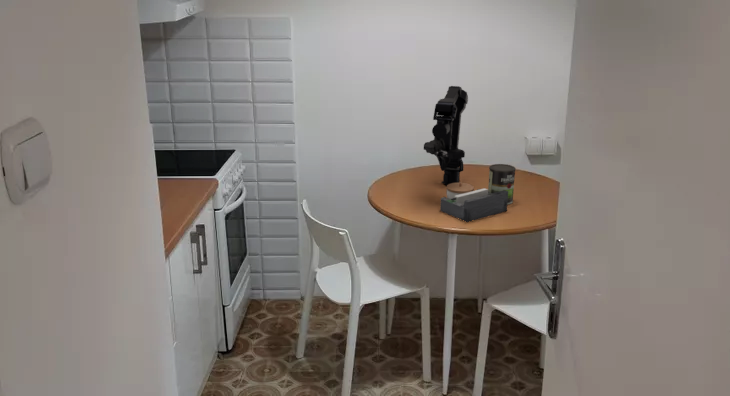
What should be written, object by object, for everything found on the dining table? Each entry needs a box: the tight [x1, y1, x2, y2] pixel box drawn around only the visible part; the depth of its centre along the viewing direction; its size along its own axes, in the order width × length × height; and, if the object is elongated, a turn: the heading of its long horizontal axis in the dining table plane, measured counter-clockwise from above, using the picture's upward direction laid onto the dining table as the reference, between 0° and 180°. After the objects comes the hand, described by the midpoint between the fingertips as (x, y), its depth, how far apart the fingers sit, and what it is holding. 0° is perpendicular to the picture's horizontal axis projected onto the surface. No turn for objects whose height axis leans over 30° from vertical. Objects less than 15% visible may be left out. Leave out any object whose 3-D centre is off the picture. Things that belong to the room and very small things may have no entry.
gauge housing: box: [439, 188, 508, 223], centre depth 273 cm, size 21×15×8 cm
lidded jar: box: [446, 181, 475, 199], centre depth 279 cm, size 11×11×9 cm
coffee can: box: [487, 163, 516, 206], centre depth 283 cm, size 10×10×14 cm
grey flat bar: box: [451, 187, 488, 205], centre depth 274 cm, size 18×2×6 cm, turn 125°
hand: (442, 170), depth 285 cm, fingers closed
